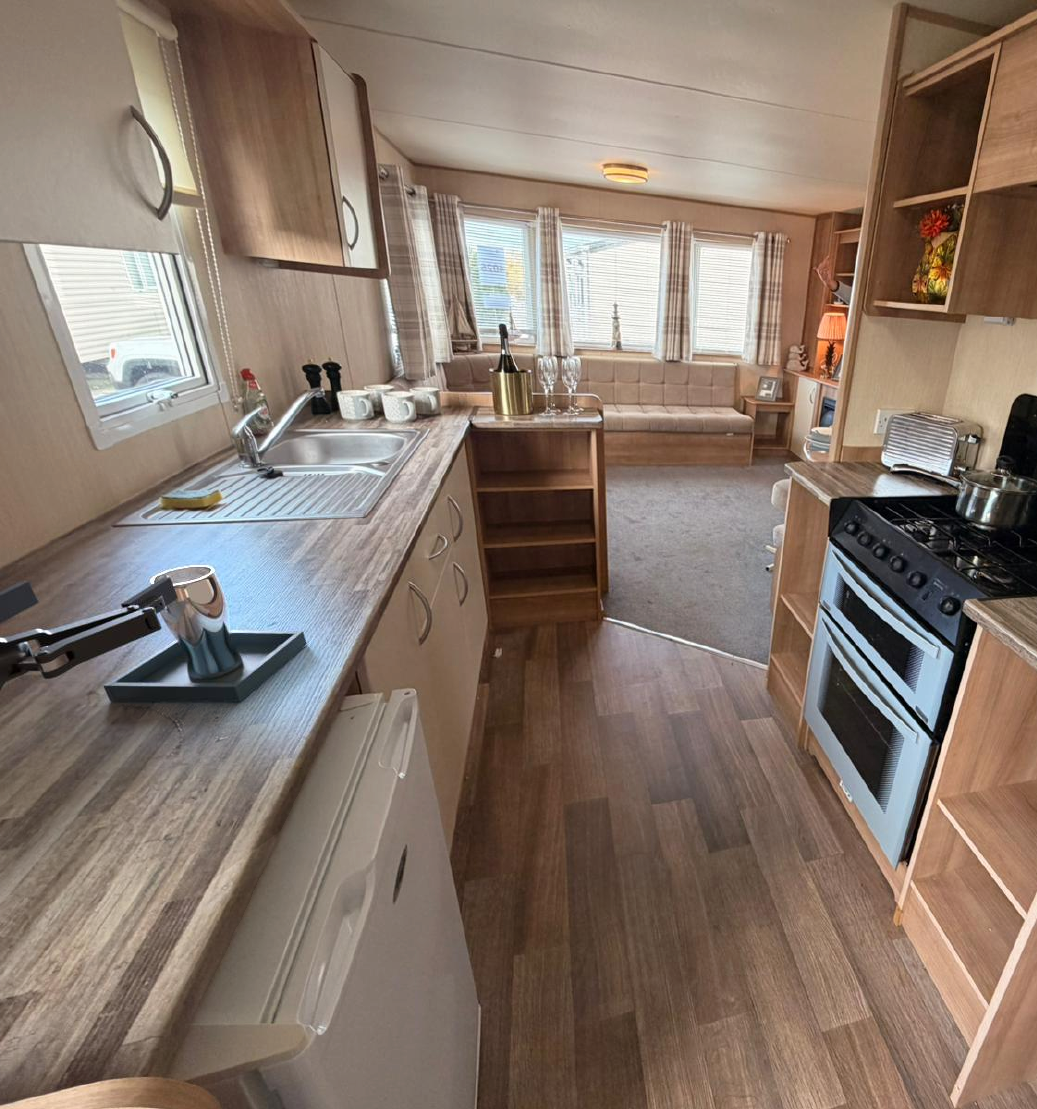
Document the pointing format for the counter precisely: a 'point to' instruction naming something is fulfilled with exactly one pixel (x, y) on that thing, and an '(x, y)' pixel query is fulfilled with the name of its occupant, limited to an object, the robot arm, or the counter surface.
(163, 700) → the tray
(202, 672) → the shiny silver metal cup
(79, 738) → the counter surface
